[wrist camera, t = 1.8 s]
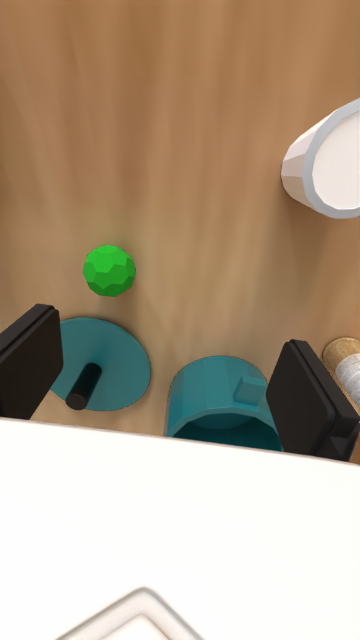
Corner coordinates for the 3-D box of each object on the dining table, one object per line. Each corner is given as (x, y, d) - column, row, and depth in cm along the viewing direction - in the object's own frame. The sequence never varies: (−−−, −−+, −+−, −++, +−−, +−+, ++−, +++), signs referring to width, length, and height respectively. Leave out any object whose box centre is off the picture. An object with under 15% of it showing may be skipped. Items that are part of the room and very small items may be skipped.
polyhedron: (85, 247, 27) (65, 259, 23) (129, 235, 27) (118, 246, 22) (103, 291, 30) (88, 309, 25) (145, 281, 29) (136, 298, 25)
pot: (157, 431, 40) (148, 489, 33) (187, 327, 31) (185, 373, 24) (242, 448, 41) (252, 508, 34) (294, 351, 32) (325, 404, 25)
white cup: (371, 127, 22) (442, 106, 15) (334, 215, 25) (380, 227, 19) (290, 111, 21) (329, 83, 15) (263, 202, 25) (287, 210, 18)
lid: (41, 393, 37) (12, 433, 32) (38, 302, 31) (2, 331, 25) (141, 413, 38) (132, 456, 33) (161, 330, 32) (154, 364, 26)
